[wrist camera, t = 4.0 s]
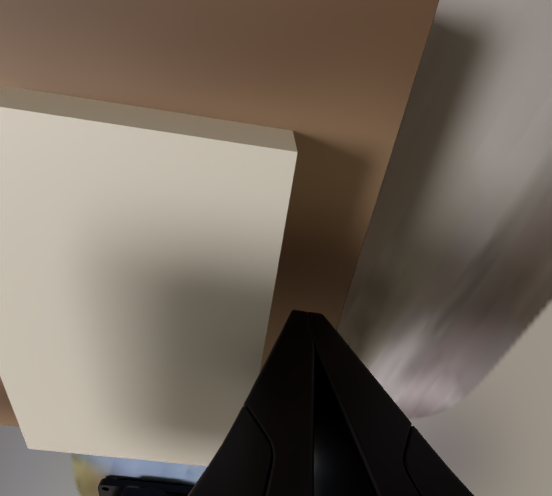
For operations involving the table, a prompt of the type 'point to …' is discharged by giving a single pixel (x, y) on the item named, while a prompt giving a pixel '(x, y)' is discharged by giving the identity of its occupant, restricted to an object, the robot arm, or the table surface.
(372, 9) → the brown box
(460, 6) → the table surface
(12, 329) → the cream rectangular block
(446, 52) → the table surface
